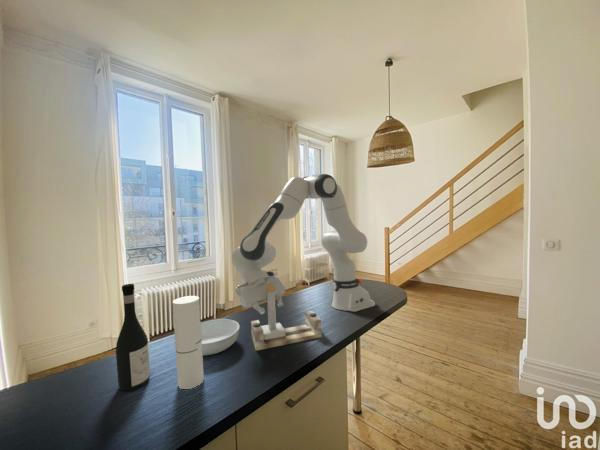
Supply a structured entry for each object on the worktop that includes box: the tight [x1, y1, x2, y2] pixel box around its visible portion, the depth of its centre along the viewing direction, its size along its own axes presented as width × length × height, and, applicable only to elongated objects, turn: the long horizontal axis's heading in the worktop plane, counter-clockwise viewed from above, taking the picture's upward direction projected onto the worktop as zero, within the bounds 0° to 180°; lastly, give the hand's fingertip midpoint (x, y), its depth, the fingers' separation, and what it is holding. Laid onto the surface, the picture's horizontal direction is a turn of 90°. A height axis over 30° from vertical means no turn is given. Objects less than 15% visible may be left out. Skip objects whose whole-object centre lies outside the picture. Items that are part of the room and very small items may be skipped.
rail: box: [250, 310, 323, 352], centre depth 102 cm, size 26×10×7 cm, turn 109°
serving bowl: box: [201, 318, 240, 356], centre depth 97 cm, size 21×21×7 cm
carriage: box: [261, 284, 285, 340], centre depth 100 cm, size 8×8×20 cm
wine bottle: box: [115, 283, 151, 391], centre depth 77 cm, size 8×8×30 cm
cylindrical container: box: [172, 295, 205, 390], centre depth 77 cm, size 7×7×25 cm
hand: (272, 309), depth 100 cm, fingers open, 8 cm apart
